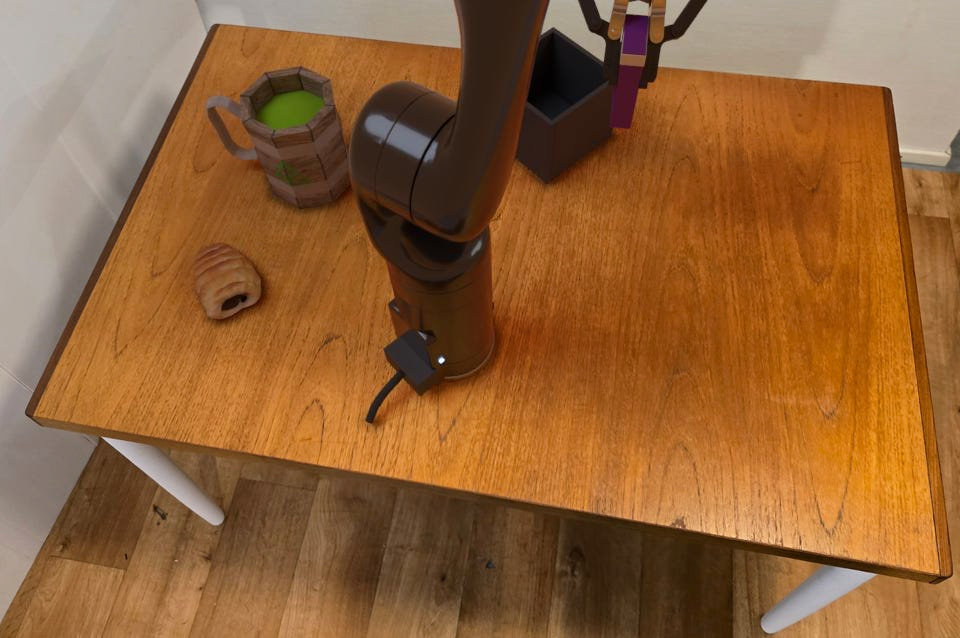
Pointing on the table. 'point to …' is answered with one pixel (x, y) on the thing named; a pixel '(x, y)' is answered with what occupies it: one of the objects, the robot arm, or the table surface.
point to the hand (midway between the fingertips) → (627, 86)
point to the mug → (290, 134)
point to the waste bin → (563, 107)
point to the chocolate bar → (629, 70)
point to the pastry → (224, 280)
